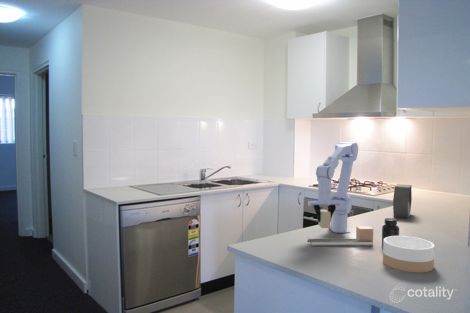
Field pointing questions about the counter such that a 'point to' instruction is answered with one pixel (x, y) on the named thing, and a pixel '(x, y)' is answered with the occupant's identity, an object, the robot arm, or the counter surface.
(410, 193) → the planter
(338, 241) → the pair of grey rails
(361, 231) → the faced tea box
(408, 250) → the bowl
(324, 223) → the box
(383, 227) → the supplement bottle
